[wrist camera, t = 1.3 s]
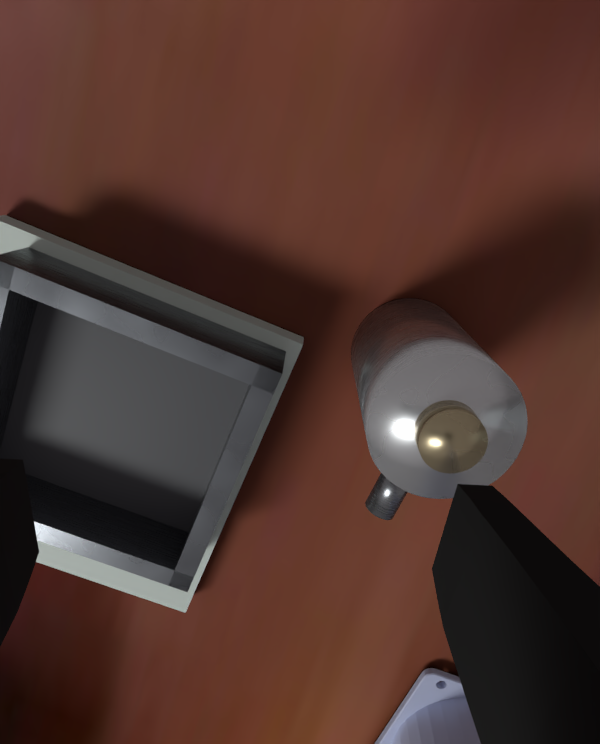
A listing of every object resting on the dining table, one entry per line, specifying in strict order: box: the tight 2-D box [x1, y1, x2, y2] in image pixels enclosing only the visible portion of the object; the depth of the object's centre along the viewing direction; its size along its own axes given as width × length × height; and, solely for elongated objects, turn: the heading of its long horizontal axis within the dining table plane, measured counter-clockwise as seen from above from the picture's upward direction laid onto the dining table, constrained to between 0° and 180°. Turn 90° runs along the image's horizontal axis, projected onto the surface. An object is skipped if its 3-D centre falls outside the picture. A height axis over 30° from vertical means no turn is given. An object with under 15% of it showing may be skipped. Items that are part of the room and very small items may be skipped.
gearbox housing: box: [0, 215, 304, 613], centre depth 21 cm, size 12×14×4 cm
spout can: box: [351, 298, 527, 520], centre depth 18 cm, size 4×6×8 cm
